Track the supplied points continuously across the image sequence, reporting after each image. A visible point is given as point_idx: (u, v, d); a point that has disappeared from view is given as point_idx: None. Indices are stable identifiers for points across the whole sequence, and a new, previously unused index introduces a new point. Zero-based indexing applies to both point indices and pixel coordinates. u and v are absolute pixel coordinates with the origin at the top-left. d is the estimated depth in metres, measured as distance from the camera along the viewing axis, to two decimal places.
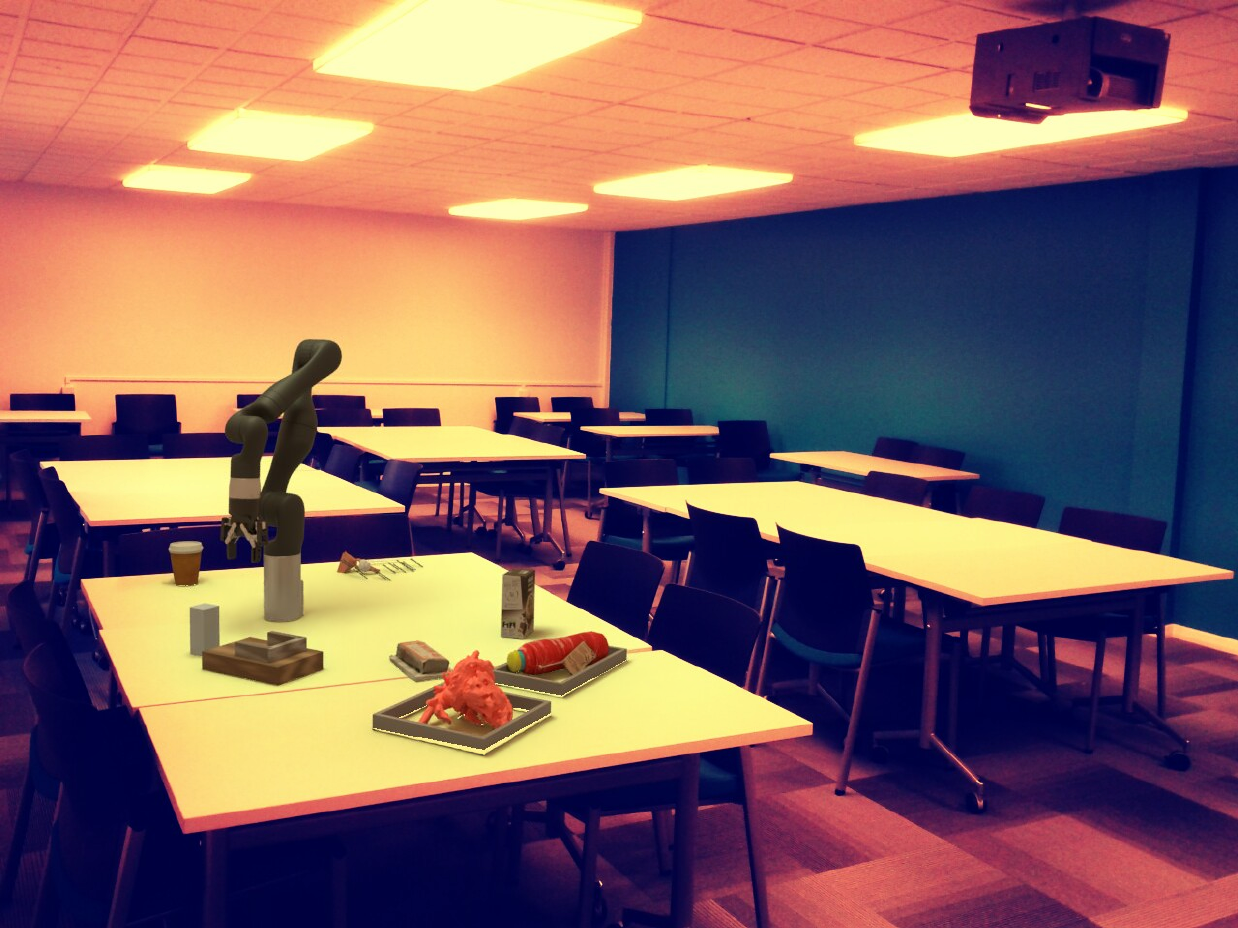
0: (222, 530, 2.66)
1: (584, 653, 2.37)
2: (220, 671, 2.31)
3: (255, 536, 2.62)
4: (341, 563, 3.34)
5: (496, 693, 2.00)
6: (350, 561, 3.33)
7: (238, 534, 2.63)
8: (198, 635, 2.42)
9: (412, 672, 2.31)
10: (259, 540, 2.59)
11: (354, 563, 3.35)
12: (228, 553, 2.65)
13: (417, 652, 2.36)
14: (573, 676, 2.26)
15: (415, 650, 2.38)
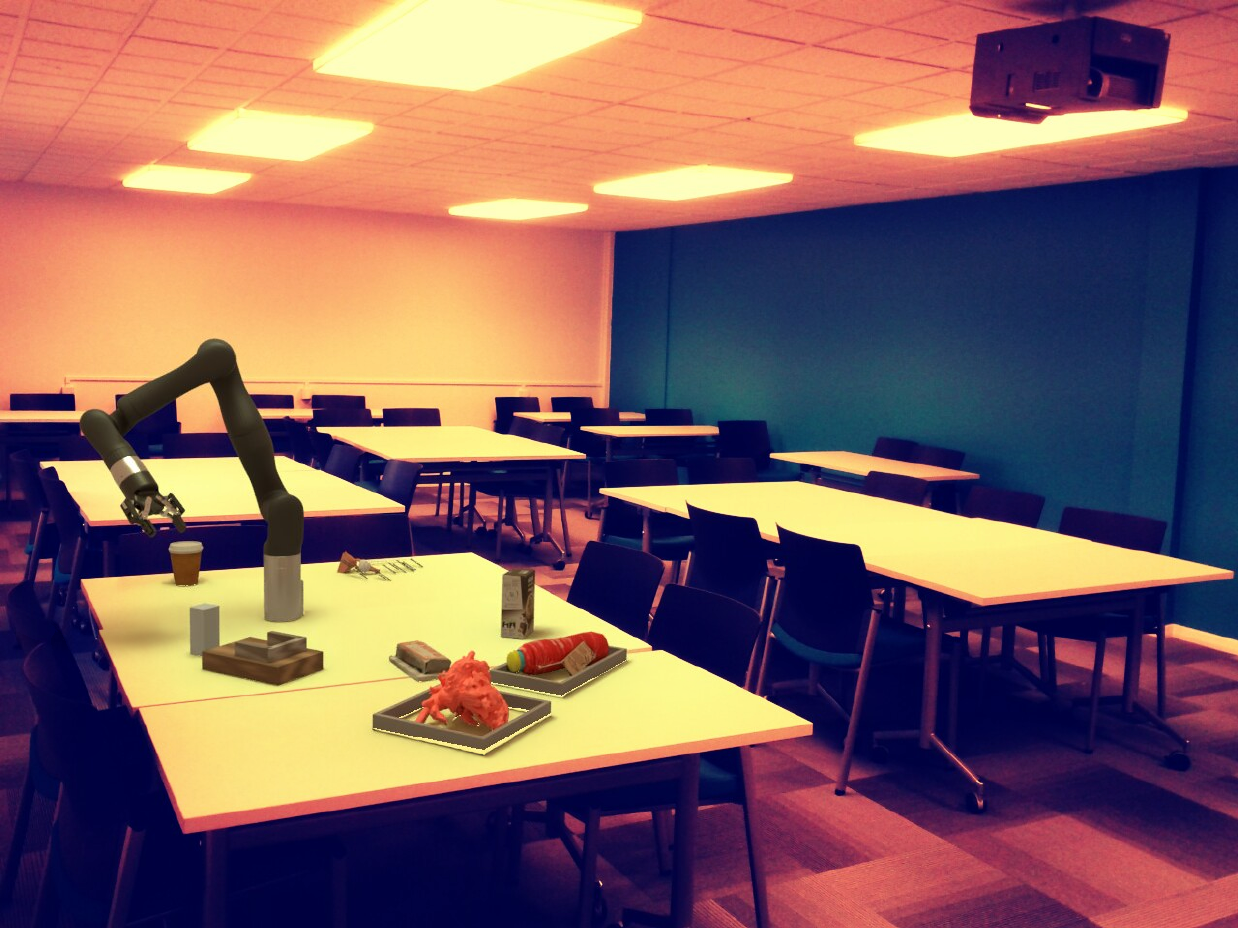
0: None
1: (584, 653, 2.37)
2: (220, 671, 2.31)
3: (141, 513, 2.45)
4: (341, 563, 3.34)
5: (492, 694, 2.00)
6: (350, 561, 3.33)
7: None
8: (198, 635, 2.42)
9: (415, 673, 2.31)
10: None
11: (354, 563, 3.35)
12: None
13: (418, 652, 2.36)
14: (573, 676, 2.26)
15: (416, 650, 2.38)
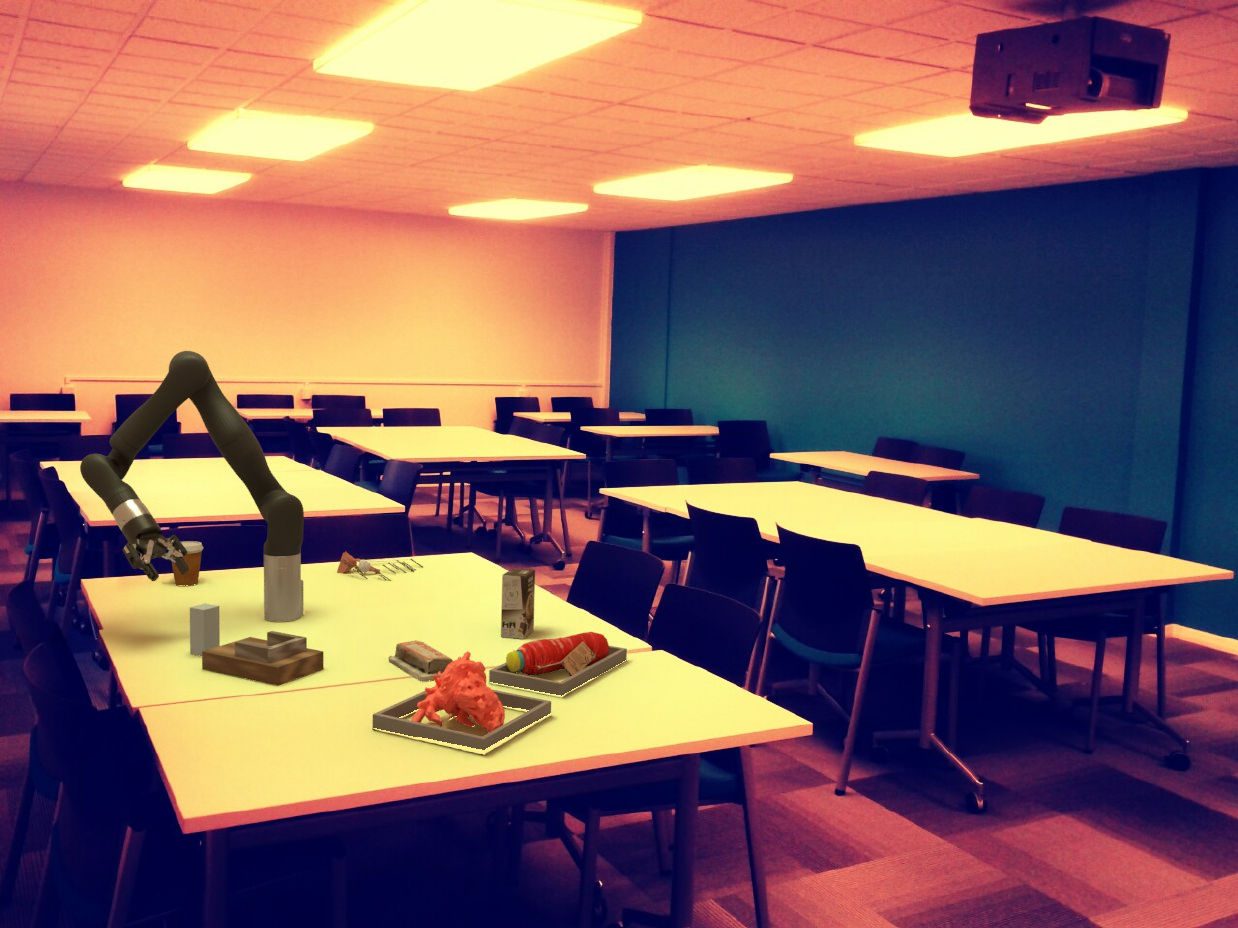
0: None
1: (583, 653, 2.37)
2: (220, 671, 2.31)
3: (143, 556, 2.46)
4: (341, 563, 3.33)
5: (487, 695, 1.99)
6: (350, 561, 3.32)
7: None
8: (198, 635, 2.42)
9: (417, 673, 2.32)
10: None
11: (354, 563, 3.34)
12: None
13: (420, 652, 2.36)
14: (573, 676, 2.26)
15: (417, 650, 2.38)
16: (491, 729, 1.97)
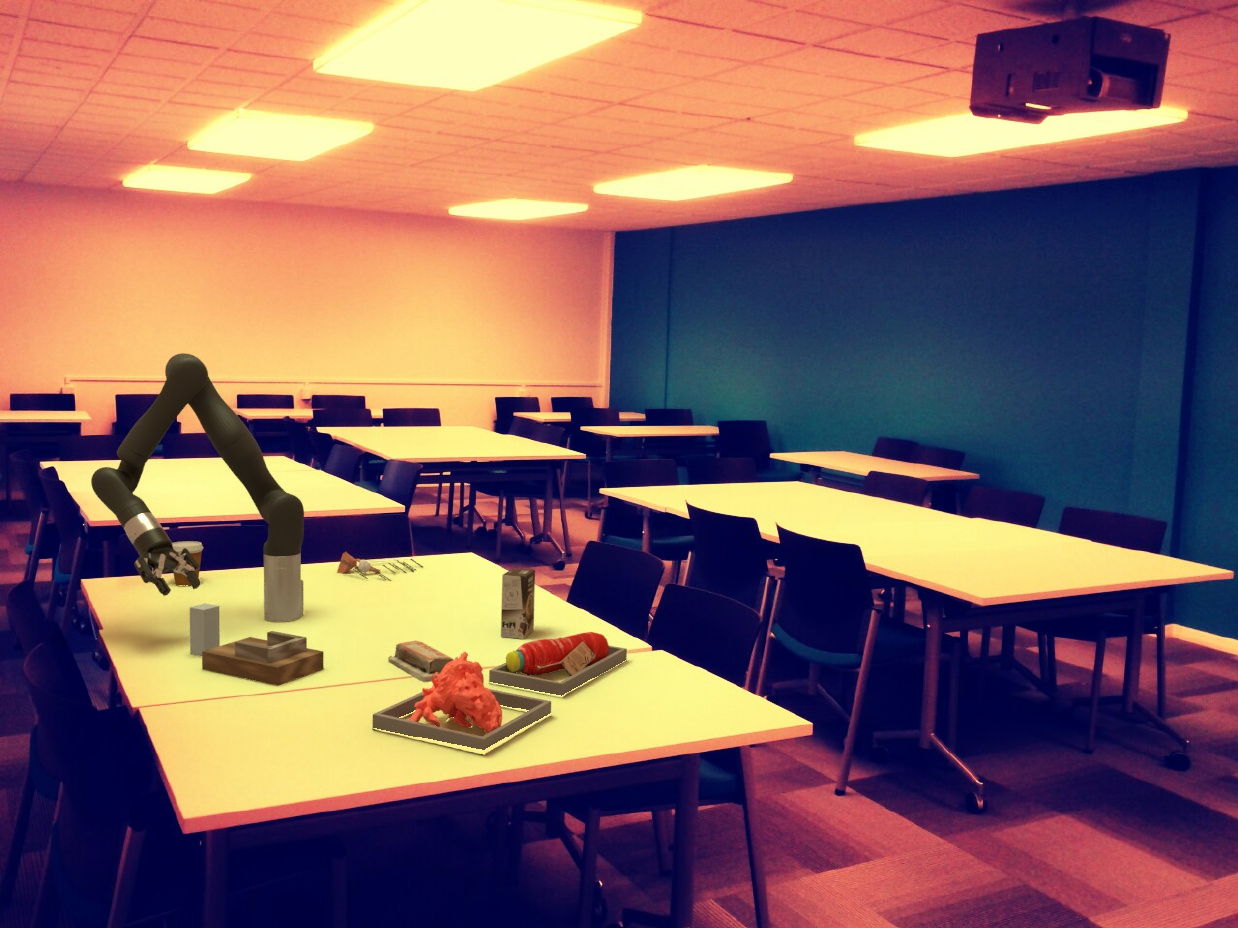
0: None
1: (583, 653, 2.37)
2: (220, 671, 2.31)
3: (155, 571, 2.45)
4: (341, 563, 3.33)
5: (485, 695, 1.99)
6: (350, 561, 3.32)
7: None
8: (198, 635, 2.42)
9: (419, 672, 2.32)
10: None
11: (354, 563, 3.34)
12: None
13: (421, 652, 2.36)
14: (573, 676, 2.26)
15: (418, 650, 2.38)
16: (489, 729, 1.96)
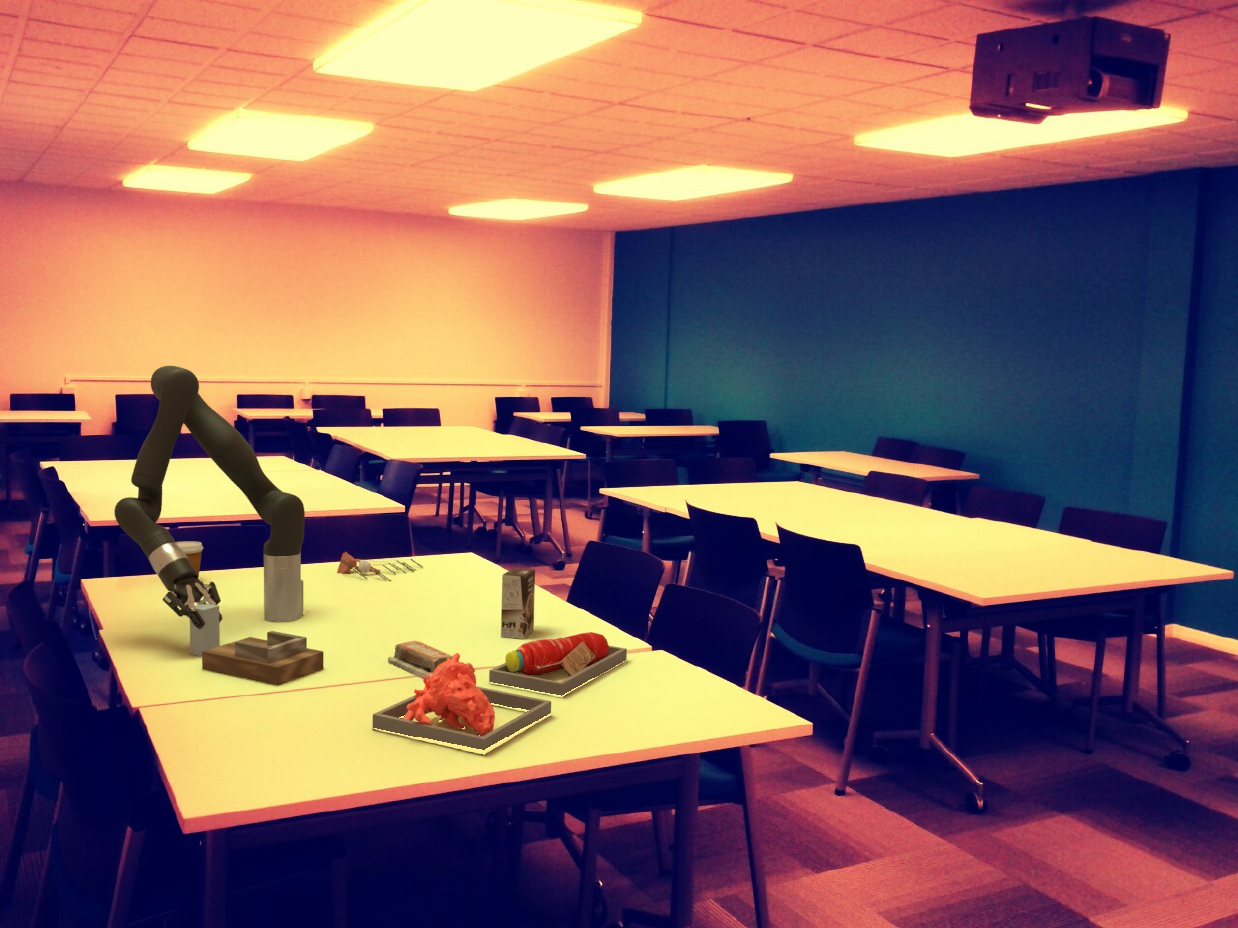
0: None
1: (583, 654, 2.37)
2: (220, 671, 2.31)
3: (186, 604, 2.43)
4: (341, 564, 3.33)
5: (477, 697, 1.98)
6: (350, 561, 3.32)
7: None
8: (198, 635, 2.42)
9: (424, 672, 2.32)
10: None
11: (354, 563, 3.34)
12: None
13: (423, 652, 2.36)
14: (573, 676, 2.26)
15: (420, 650, 2.38)
16: (481, 731, 1.95)
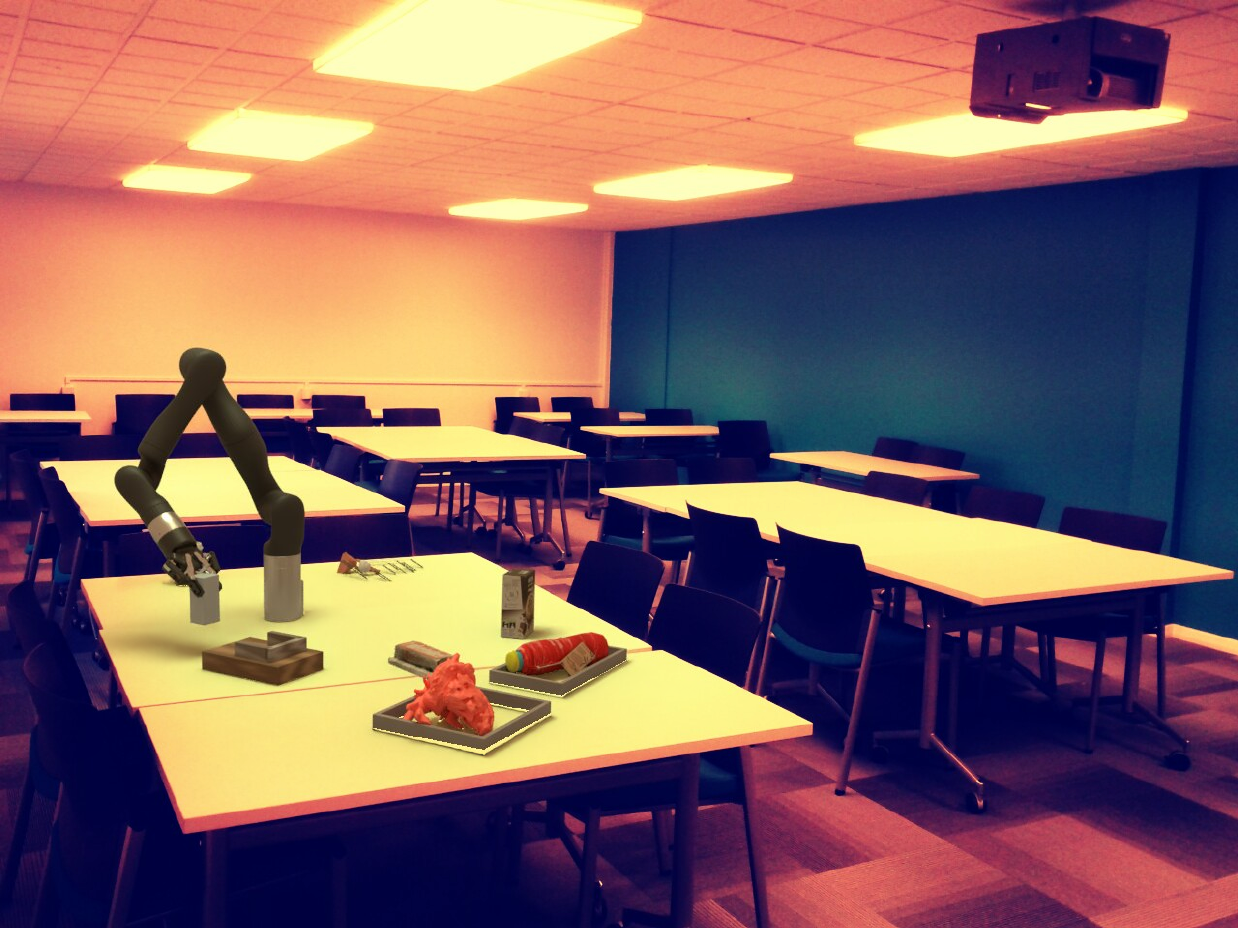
0: None
1: (583, 654, 2.37)
2: (220, 671, 2.31)
3: (185, 573, 2.42)
4: (341, 564, 3.33)
5: (477, 697, 1.98)
6: (350, 562, 3.32)
7: None
8: (198, 604, 2.42)
9: (426, 672, 2.32)
10: None
11: (354, 564, 3.34)
12: None
13: (425, 652, 2.36)
14: (573, 676, 2.26)
15: (421, 650, 2.38)
16: (481, 731, 1.95)
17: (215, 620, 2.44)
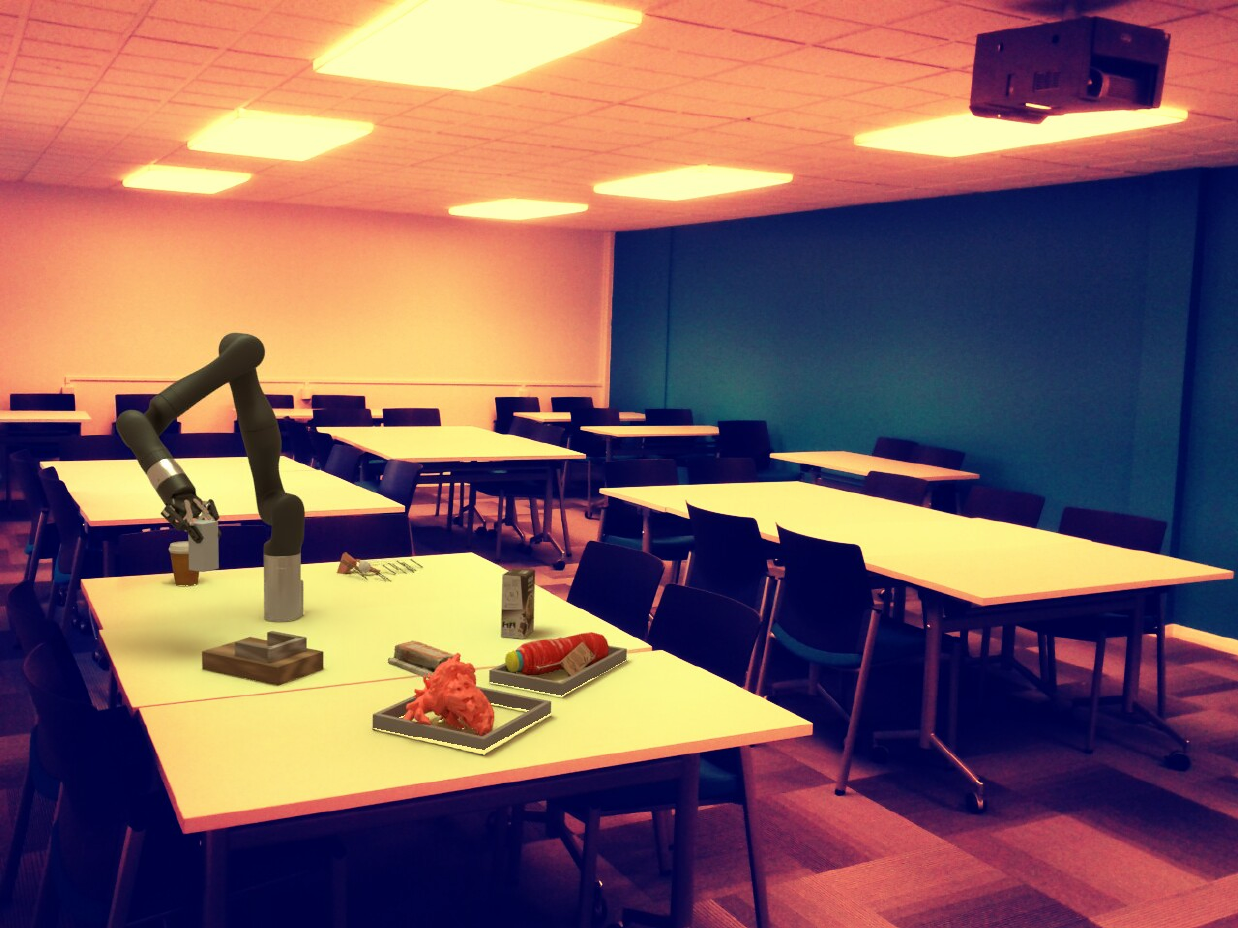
0: None
1: (583, 654, 2.37)
2: (220, 671, 2.31)
3: (184, 519, 2.40)
4: (341, 564, 3.32)
5: (477, 697, 1.98)
6: (350, 562, 3.32)
7: None
8: (197, 550, 2.40)
9: (428, 672, 2.32)
10: None
11: (354, 564, 3.34)
12: None
13: (426, 652, 2.36)
14: (573, 676, 2.26)
15: (422, 650, 2.38)
16: (480, 731, 1.95)
17: (214, 567, 2.43)
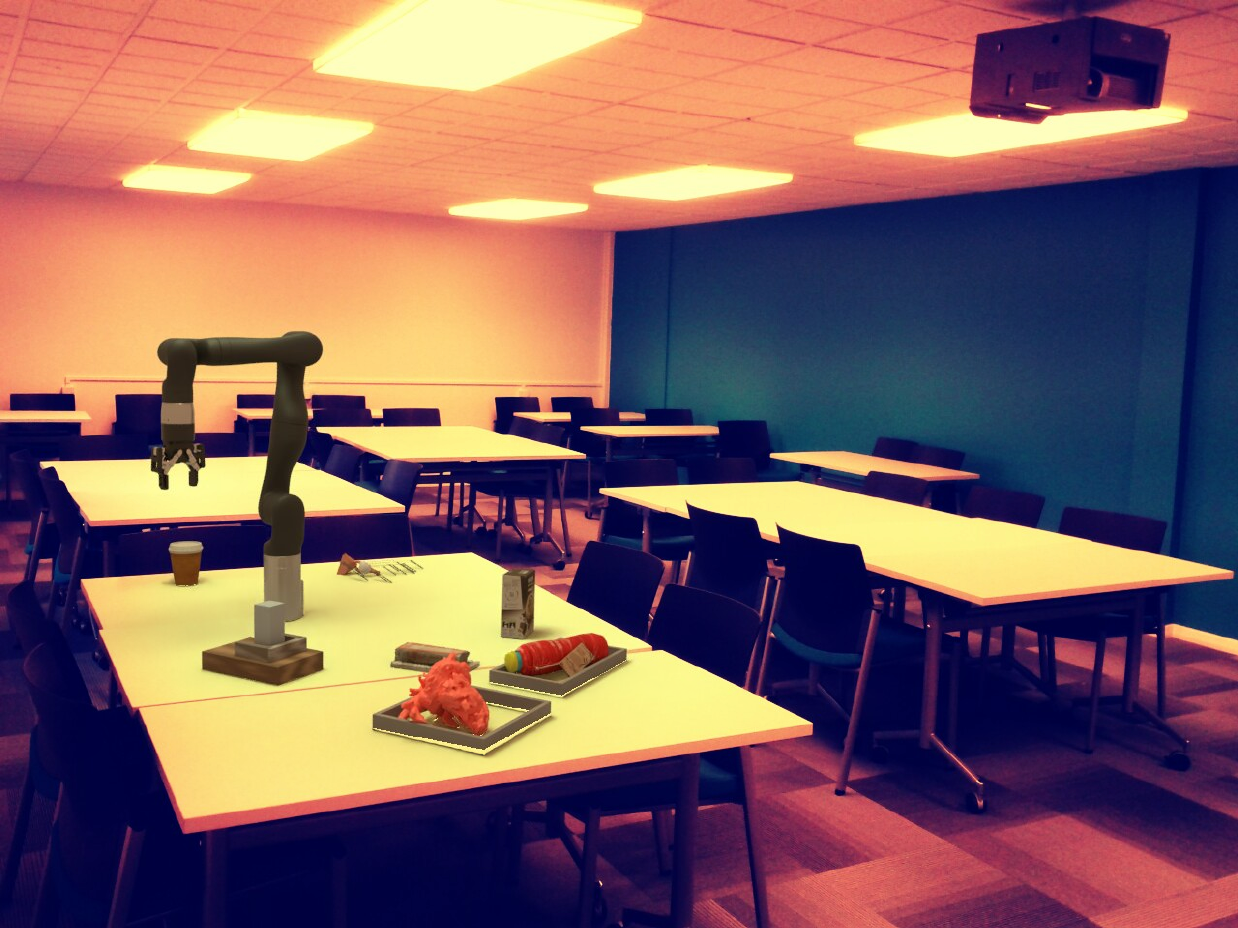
0: None
1: (582, 655, 2.36)
2: (220, 671, 2.31)
3: (165, 463, 2.53)
4: (341, 565, 3.31)
5: (472, 696, 1.98)
6: (350, 563, 3.30)
7: None
8: (263, 634, 2.31)
9: None
10: None
11: (354, 565, 3.32)
12: None
13: (438, 650, 2.38)
14: (573, 676, 2.26)
15: (431, 649, 2.39)
16: (475, 730, 1.96)
17: None
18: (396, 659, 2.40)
